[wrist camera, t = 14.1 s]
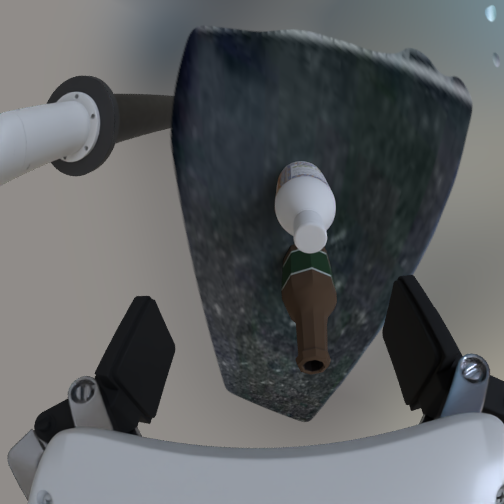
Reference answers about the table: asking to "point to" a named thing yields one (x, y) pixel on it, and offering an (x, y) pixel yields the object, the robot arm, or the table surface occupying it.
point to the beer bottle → (309, 304)
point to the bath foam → (305, 205)
